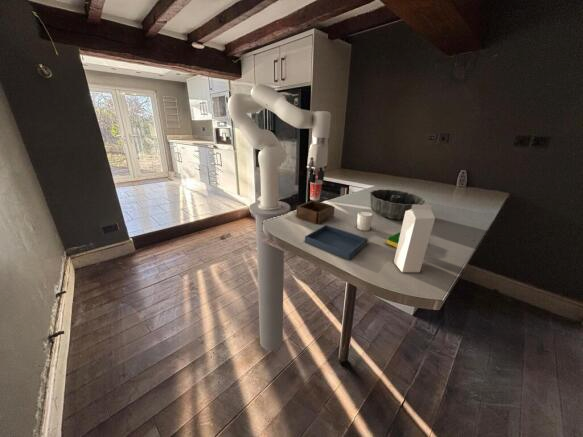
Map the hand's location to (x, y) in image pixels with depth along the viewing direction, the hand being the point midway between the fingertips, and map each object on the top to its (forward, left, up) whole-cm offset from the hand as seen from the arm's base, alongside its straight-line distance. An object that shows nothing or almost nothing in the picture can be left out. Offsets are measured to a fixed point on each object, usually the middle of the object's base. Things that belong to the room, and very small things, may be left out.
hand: (316, 180), depth 110 cm
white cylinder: (+25, +4, -18) cm, 31 cm away
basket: (+1, 0, -18) cm, 18 cm away
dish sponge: (+43, +2, -18) cm, 46 cm away
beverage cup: (0, 0, -9) cm, 9 cm away
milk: (+49, -16, -18) cm, 54 cm away
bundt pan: (+29, +32, -18) cm, 47 cm away
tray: (+23, -17, -18) cm, 34 cm away
